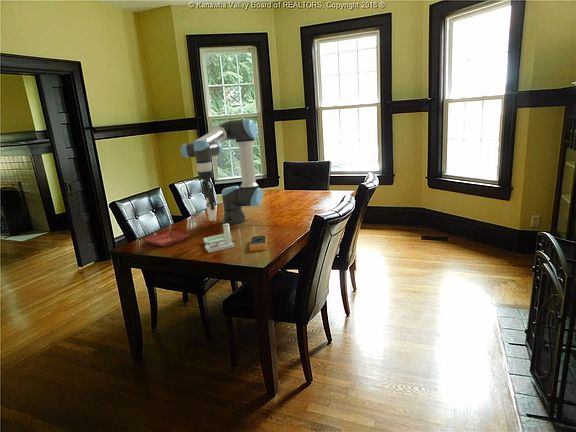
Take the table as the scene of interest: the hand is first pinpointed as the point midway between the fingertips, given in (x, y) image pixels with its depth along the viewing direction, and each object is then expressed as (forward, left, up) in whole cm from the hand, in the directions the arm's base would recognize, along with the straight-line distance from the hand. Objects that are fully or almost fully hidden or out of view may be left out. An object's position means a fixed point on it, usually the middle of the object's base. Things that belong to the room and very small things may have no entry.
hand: (211, 214), depth 199 cm
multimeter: (-19, +14, -18) cm, 30 cm away
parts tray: (-3, -6, -18) cm, 19 cm away
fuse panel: (-1, +4, -18) cm, 18 cm away
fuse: (-6, +4, -18) cm, 19 cm away
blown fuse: (0, 0, -3) cm, 3 cm away
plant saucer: (+22, -28, -18) cm, 40 cm away
